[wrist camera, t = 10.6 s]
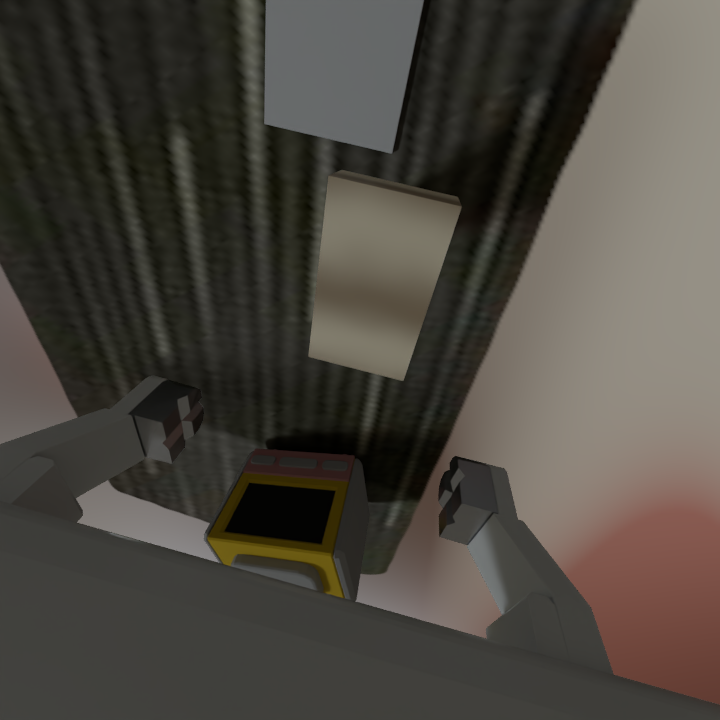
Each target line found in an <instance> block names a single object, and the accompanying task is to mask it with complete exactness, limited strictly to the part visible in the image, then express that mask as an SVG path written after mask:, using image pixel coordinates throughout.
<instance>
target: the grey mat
mask: <svg viewBox="0 0 720 720" xmlns="http://www.w3.org/2000/svg"><path fill="white" fill-rule="evenodd" d="M423 4H424V0H266V42H265V119H264V124H268V125H272V126H276V127H280V128H285V129H289V130H293V131H298V132H302V133H306V134H310V135H315V136H319V137H323V138H327V139H332V140H336V141H340V142H345V143H349V144H353V145H357V146H362V147H366V148H370V149H374V150H379V151H383V152H387V153H393V148H394V144H395V139H396V134H397V129H398V124H399V120H400V115H401V110H402V105H403V100H404V96H405V91H406V86H407V81H408V76H409V71H410V67H411V62H412V57H413V52H414V47H415V43H416V38H417V33H418V28H419V23H420V19H421V14H422V9H423Z"/></svg>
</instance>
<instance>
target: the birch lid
mask: <svg viewBox="0 0 720 720" xmlns="http://www.w3.org/2000/svg"><path fill="white" fill-rule="evenodd" d="M461 208H462V206H461V203H460V201H459V199H458V197H456V196H452V195H448V194H443V193H439V192H435V191H430V190H426V189H422V188H417V187H413V186H409V185H405V184H400V183H396V182H392V181H387V180H383V179H379V178H375V177H370V176H366V175H362V174H357V173H353V172H349V171H344V170H341V171H338V172H336V173H334V174H331V175H329V177H328V186H327V195H326V204H325V213H324V222H323V231H322V240H321V249H320V258H319V267H318V276H317V285H316V294H315V303H314V312H313V321H312V330H311V338H310V347H309V356H308V357H312V358H316V359H319V360H323V361H327V362H331V363H335V364H339V365H343V366H347V367H351V368H355V369H359V370H362V371H366V372H370V373H374V374H378V375H382V376H386V377H390V378H394V379H398V380H402V381H403V380H404V377H405V374H406V371H407V368H408V365H409V362H410V359H411V356H412V353H413V350H414V347H415V344H416V341H417V338H418V336H419V333H420V330H421V327H422V324H423V321H424V318H425V315H426V312H427V309H428V306H429V303H430V300H431V297H432V294H433V291H434V288H435V285H436V282H437V279H438V276H439V273H440V270H441V267H442V264H443V261H444V258H445V255H446V252H447V249H448V246H449V243H450V240H451V237H452V235H453V232H454V229H455V226H456V223H457V220H458V217H459V214H460V211H461Z"/></svg>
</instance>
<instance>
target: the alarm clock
mask: <svg viewBox="0 0 720 720" xmlns="http://www.w3.org/2000/svg"><path fill="white" fill-rule="evenodd" d="M369 516H370V513H369V506H368V499H367V493H366V486H365V479H364V473H363V466H362V463H361V461H360V460H359V459H357V458H356V459H355V456H354V455H347V454H343V455H340V454H326V453H312V452H297V451H283V450H277V449H274V450H268V449H255V450H254V451H253V452H251V453H250V454H249V455H248V457H247V459H246V461H245V462H244V464H243V466H242V468H241V469H240V471H239V473H238V475H237V477H236V478H235V480H234V482H233V484H232V485H231V487H230V489H229V491H228V493H227V494H226V496H225V498H224V500H223V501H222V503H221V505H220V507H219V508H218V510H217V512H216V514H215V516H214V517H213V519H212V521H211V523H210V524H209V526H208V528H207V530H206V532H205V534H204V541H205V542H206V543H207V545H208V546H209V548H210V549H211V551H212V552H213V554H214V555H215V557H216V558H217V560H218V561H219V563H221V564H225V565H228V566H232V567H235V568H239V569H242V570H246V571H249V572H253V573H256V574H260V575H264V576H267V577H271V578H274V579H278V580H281V581H285V582H288V583H292V584H295V585H299V586H302V587H306V588H309V589H313V590H316V591H320V592H324V593H327V594H331V595H334V596H338V597H341V598H345V599H348V600H352V601H356V597H357V592H358V586H359V579H360V573H361V567H362V560H363V554H364V547H365V541H366V535H367V528H368V522H369Z"/></svg>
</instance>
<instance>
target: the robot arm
mask: <svg viewBox="0 0 720 720" xmlns="http://www.w3.org/2000/svg"><path fill="white" fill-rule="evenodd" d="M201 398H202V394H201V390H200V389H198V388H195V387H192V386H189V385H185V384H182V383H178V382H175V381H171V380H167V379H164V378H160V377H157V376H150V377H147V378H146V379H145V380H143V381H142V382H141V383H140V384H139V385H138V386H136V387H135V388H134V389H133V390H132V391H131V392H129V393H128V394H127V395H126V396H125V397H124V398H123V399H121V400H120V401H119V402H118V403H117V404H116V405H114V406H113V407H112V408H111V409H102V410H99V411H96V412H93V413H90V414H87V415H84V416H81V417H78V418H76V419H72V420H70V421H67V422H64V423H61V424H58V425H55V426H52V427H49V428H47V429H43V430H40V431H37V432H34V433H32V434H29V435H26V436H23V437H20V438H17V439H14V440H11V441H8V442H5V443H3V444H0V720H720V705H719V704H715V703H712V702H708V701H704V700H701V699H697V698H694V697H690V696H687V695H683V694H679V693H676V692H673V691H669V690H666V689H662V688H659V687H655V686H651V685H648V684H645V683H641V682H638V681H634V680H630V679H627V678H623V677H620V676H616V675H614V674H613V671H612V668H611V666H610V662H609V659H608V656H607V654H606V651H605V648H604V645H603V642H602V639H601V636H600V633H599V630H598V627H597V624H596V621H595V618H594V615H593V612H592V609H591V607H590V606H589V605H588V603H587V602H586V601H585V599H584V598H583V597H582V596H581V594H580V593H579V592H578V590H577V589H576V588H575V587H574V585H573V584H572V583H571V582H570V580H569V579H568V578H567V577H566V575H565V574H564V573H563V571H562V570H561V569H560V568H559V566H558V565H557V564H556V562H555V561H554V560H553V559H552V557H551V556H550V555H549V554H548V552H547V551H546V550H545V549H544V547H543V546H542V545H541V543H540V542H539V541H538V540H537V538H536V537H535V536H534V534H533V533H532V532H531V531H530V529H529V528H528V527H527V526H526V524H525V523H524V522H523V521H521V520H518V518H517V513H516V509H515V505H514V501H513V496H512V492H511V488H510V484H509V479H508V475H507V472H506V470H505V469H504V468H500V467H496V466H493V465H488V464H485V463H481V462H477V461H474V460H469V459H466V458H461V457H457V456H455V457H453V458H452V460H451V462H450V470H448V471H446V472H445V473H444V474H443V476H442V479H441V482H440V486H439V503H440V505H441V506H442V508H443V510H442V511H441V513H440V514H439V536H440V537H442V538H445V539H449V540H452V541H455V542H458V543H462V544H465V545H468V546H467V548H468V550H469V552H470V553H471V555H472V557H473V559H474V561H475V563H476V565H477V567H478V569H479V571H480V573H481V575H482V577H483V579H484V580H485V582H486V584H487V586H488V588H489V590H490V592H491V594H492V596H493V598H494V600H495V602H496V604H497V606H498V608H499V610H500V612H501V614H502V616H501V617H500V618H498V619H497V620H496V621H494V622H493V623H492V624H491V625H490V626H489V627H487V628H486V635H487V639H486V638H482V637H479V636H475V635H472V634H468V633H464V632H461V631H457V630H454V629H451V628H447V627H443V626H440V625H436V624H433V623H429V622H425V621H422V620H418V619H415V618H412V617H408V616H405V615H401V614H398V613H394V612H391V611H387V610H383V609H380V608H376V607H373V606H369V605H366V604H362V603H359V602H355V601H352V600H348V599H345V598H341V597H338V596H334V595H331V594H327V593H324V592H320V591H316V590H313V589H309V588H306V587H302V586H299V585H295V584H292V583H288V582H285V581H281V580H278V579H274V578H271V577H267V576H264V575H260V574H256V573H253V572H249V571H246V570H242V569H239V568H235V567H232V566H228V565H225V564H221V563H218V562H214V561H210V560H207V559H204V558H200V557H196V556H193V555H189V554H186V553H182V552H178V551H175V550H172V549H168V548H165V547H161V546H157V545H154V544H151V543H147V542H143V541H140V540H136V539H133V538H129V537H125V536H122V535H119V534H115V533H112V532H108V531H104V530H101V529H97V528H93V527H90V526H87V525H83V524H79V523H77V521H78V520H79V519H80V518H81V517H82V516H83V510H82V509H81V507H80V505H79V503H78V502H77V500H76V498H77V497H79V496H80V495H82V494H84V493H86V492H87V491H89V490H91V489H92V488H94V487H96V486H98V485H100V484H101V483H103V482H105V481H107V480H108V479H110V478H112V477H114V476H115V475H117V474H119V473H121V472H122V471H124V470H126V469H128V468H130V467H131V466H133V465H135V464H137V463H138V462H140V461H142V460H144V459H145V457H147V458H151V459H155V460H159V461H164V462H168V463H173V462H174V461H175V459H176V458H177V457H178V456H179V454H180V453H181V452H182V451H183V449H184V448H185V447H186V446H185V440H186V439H188V438H190V437H192V436H194V435H195V434H196V432H197V431H198V430H199V428H200V426H201V424H202V421H203V417H204V408H203V406H202V405H201V404H200V403H199V401H200V399H201Z"/></svg>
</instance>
